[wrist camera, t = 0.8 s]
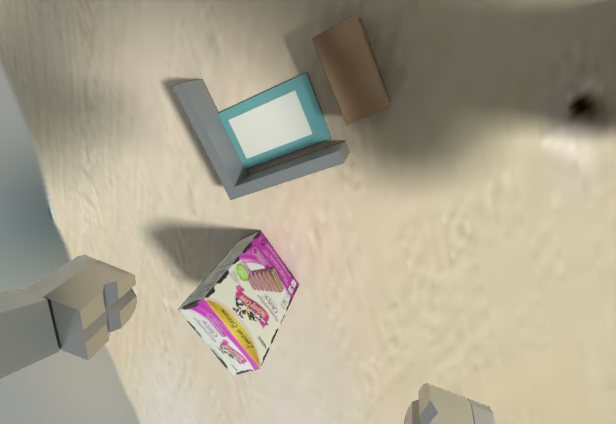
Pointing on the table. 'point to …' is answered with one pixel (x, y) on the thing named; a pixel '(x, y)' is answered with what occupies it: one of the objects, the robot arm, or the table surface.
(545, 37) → the table surface
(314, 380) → the table surface
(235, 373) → the candy bar box
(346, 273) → the table surface
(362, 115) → the walnut block
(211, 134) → the corner bracket
